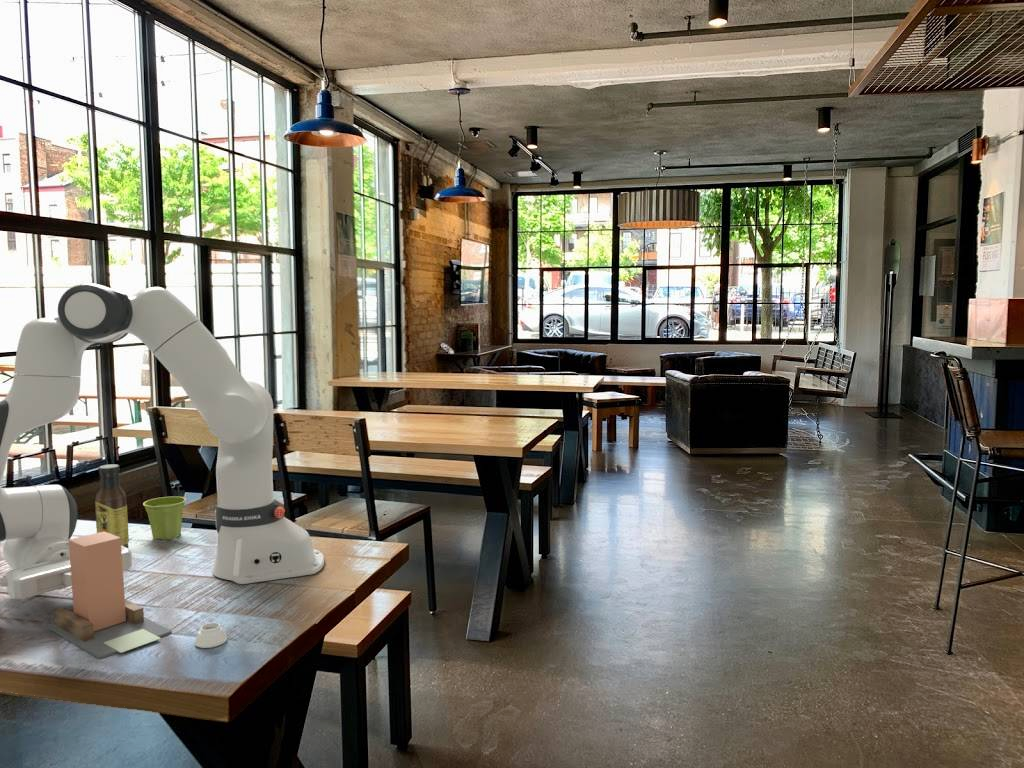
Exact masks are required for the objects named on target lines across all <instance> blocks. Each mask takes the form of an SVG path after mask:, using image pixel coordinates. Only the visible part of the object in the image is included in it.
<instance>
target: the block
mask: <svg viewBox="0 0 1024 768" xmlns="http://www.w3.org/2000/svg"><path fill="white" fill-rule="evenodd" d="M69 553H70V567H71V581H72V586H71V591H72V592H71V593H72V594H71V595H72V604H73V605H72V606H73V613H74V614H76V615H78V616H80V617H82V618H83V619H85V620H87V621H89V622H91V623H92V624H93V627H94V631H97V630H100V629H103V628H106V627H109V626H112V625H116V624H119V623H122V622H125V621H126V612H125V599H126V597H125V584H124V582H125V581H124V571H123V566H122V550H121V538H120V537H118V536H115V535H112V534H110V533H107V532H105V531H104V532H100V533H97V532H96V533H92V534H87V535H83V536H80V537H76V538H70V540H69Z"/></svg>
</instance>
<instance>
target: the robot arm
mask: <svg viewBox="0 0 1024 768" xmlns="http://www.w3.org/2000/svg"><path fill="white" fill-rule="evenodd" d="M57 315H58V317H41V318H36V319H33V320H31V321H29V322H28V323H26V324H24V326H23V328H22V330H21V333H20V336H19V340H18V344H17V348H16V355H15V361H14V372H13V380H12V385H11V387H10V388H9V392H8V393H7V395H6V396H5V397H4V399H2V400H1V401H0V542H4V543H3V545H2V555H3V559H4V561H5V562H6V564H7V565H8V567H10V569H11V570H8V571H6V573H5V575H3V576H2V577H0V587H3V588H6V592H7V594H8V595H9V596H10V597H11V598H12V599H14V600H25V599H28V598H32V597H35V596H38V595H42V594H46V593H51V592H53V591H58V590H61V589H65V588H68V587H72V581H71V567H70V553H69V540H70V539H72V536H73V534H74V533H75V530H76V527H77V523H78V507H77V506H78V505H77V502H76V500H75V498H74V497H73V496H72V494H71V493H70V491H69V490H68V489H67V488H66V487H64V486H62V485H61V484H59V483H57V484H37V485H31V486H18V487H2V482H3V479H4V474H5V471H6V466H7V462H8V459H9V455H10V454H9V453H10V452H11V451H10V450H11V448H12V445H13V443H15V442H16V440H17V439H18V438H19V437H21V435H23V434H25V433H28V432H30V431H31V430H33V429H36V428H39V427H42V426H45V425H48V424H51V423H53V422H56V421H58V420H60V419H61V418H63V417H64V416H66V415H68V414H69V413H70V412H71V411H72V410H73V409H74V407H75V406H76V405H77V403H78V402H79V401H78V400H79V397H80V396H79V395H80V392H81V376H82V375H81V373H82V359H83V354H84V353H85V351H86V350H87V348H93V347H97V346H101V345H107V344H112V343H115V342H117V341H120V340H122V339H124V338H125V337H126V336H128V334H130V335H133V336H135V337H136V338H137V339H138V340H140V341H141V342H142V343H143V344H144V345H145V346H146V348H148V349H149V351H150V352H151V353H152V354H153V355H154V356H155V358H156V359H157V360H158V361H159V362H160V363H161V365H163V367H164V368H165V369H166V370H167V371H168V372H169V373H170V375H172V376H173V378H174V379H175V380H176V382H178V384H179V385H180V387H182V389H183V391H184V392H185V394H186V395H187V397H188V398H189V400H190V402H191V403H192V404H193V406H194V408H195V409H196V411H197V412H198V413H199V415H200V416H201V418H202V419H203V420H204V422H205V423H206V425H207V426H208V429H209V432H210V433H211V434H212V435H213V436H214V437H215V438H216V439H218V447H217V448H218V449H217V457H216V459H217V460H216V465H215V477H216V493H217V494H216V495H217V496H216V497H217V504H216V506H215V511H214V514H215V515H214V518H215V528H216V532H217V544H216V545H217V546H216V554H215V560H214V564H213V569H212V575H213V576H215V577H216V578H219V579H223V580H228V581H232V582H234V583H236V584H238V585H246V584H253V583H259V582H267V581H275V580H283V579H287V578H288V579H289V578H294V577H295V578H296V577H302V576H309V575H314V574H317V573H318V572H320V571H321V570H322V569H323V567H324V565H325V557H324V554H323V552H321V551H320V550H319V549H315V548H314V545H313V541H312V538H311V536H310V534H309V531H307V530H306V529H304V528H303V527H301V526H300V525H297V524H296V523H294V522H293V521H292V520H290V519H288V518H286V517H285V512H286V509H285V506H284V502H283V500H280V501H279V500H276V499H274V482H273V480H274V478H273V477H274V476H273V450H274V449H273V448H274V401H273V398H272V395H271V393H270V392H269V391H268V389H266V387H264V386H263V385H261V384H259V383H257V382H253V381H248V380H246V378H244V376H243V375H242V374H241V373H240V371H239V370H238V368H237V366H236V365H235V364H234V363H233V361H232V359H231V358H230V356H229V354H228V352H227V350H226V348H224V347H223V345H222V344H221V343H220V342H219V341H218V339H216V337H215V336H214V335H213V334H212V333H211V331H210V330H209V329H208V328H207V327H206V326H205V325H204V323H202V321H201V320H200V319H199V318H198V317H197V316H196V314H195V313H193V311H192V310H191V309H190V308H189V307H188V306H187V305H185V303H183V301H181V300H180V299H179V298H178V297H177V296H175V295H174V294H173V293H172V292H171V291H169V290H168V289H166V288H164V287H160V286H152V287H151V286H150V287H147V288H145V289H141V290H140V291H139V292H137V293H135V294H133V295H130V296H128V295H127V294H125V293H124V292H120V291H118V290H116V289H113V288H111V287H109V286H106V285H102V284H98V283H95V282H94V283H93V282H92V283H91V282H84V283H80V284H75V285H73V286H72V287H70V288H69V289H67V290H66V291H65V292H64V293H63V294H61V297H60V299H59V301H58V304H57ZM121 550H122V566H123V572H126V571H128V570H130V569H131V568H132V566H133V556H132V551H131V549H129V547H128V548H126V547H124V546H122V545H121Z"/></svg>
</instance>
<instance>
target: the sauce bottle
mask: <svg viewBox="0 0 1024 768" xmlns="http://www.w3.org/2000/svg"><path fill="white" fill-rule="evenodd" d="M98 473H99V479H100V483H99V484H100V485H99V486H100V489H99V490H98V491H97V493H96V496H95V500H94V505H95V524H96V527H95V528H96V533H100V532H104V531H105V532H107V533H110V534H112V535H115V536H118V537H120V538H121V545H122V546H124V547H126V548H128V549H129V542H130V538H129V520H128V504H127V495H126V493H125V490H124V489H123V488H122V487H121V486H120V484H121V482H120V476H119V475H120V474H119V473H120V465H119V464H114V463H113V464H104V465H100V466H99V467H98Z"/></svg>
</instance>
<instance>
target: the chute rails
mask: <svg viewBox="0 0 1024 768" xmlns="http://www.w3.org/2000/svg"><path fill="white" fill-rule="evenodd" d="M125 612H126V620H127V621H129V622H131V623H133V624H135V625H136V624H139V623H142V622H144V617H145V616H144V615H145V614H144V608H143V606H140V605H138V604H136V603H134V602H132V601H130V600H128V599H126V598H125ZM54 620H55V621H54V622H55V623H54V624H56V625H57V626H58V627H60V628H62V629H64V630H65V631H67V632H69V633H70V634H72V635H74V636H75V637H77V638H79V639H80V640H82V641H84V642H85V641H88V640H91V639H94V627H93V624H92V623H91V622H89V621H87V620H85V619H83V618H82V617H80V616H78V615H76V614H74V612H73V611H70V610H69V609H67V608H65V607H63V608H60V609H57V610H54Z"/></svg>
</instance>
